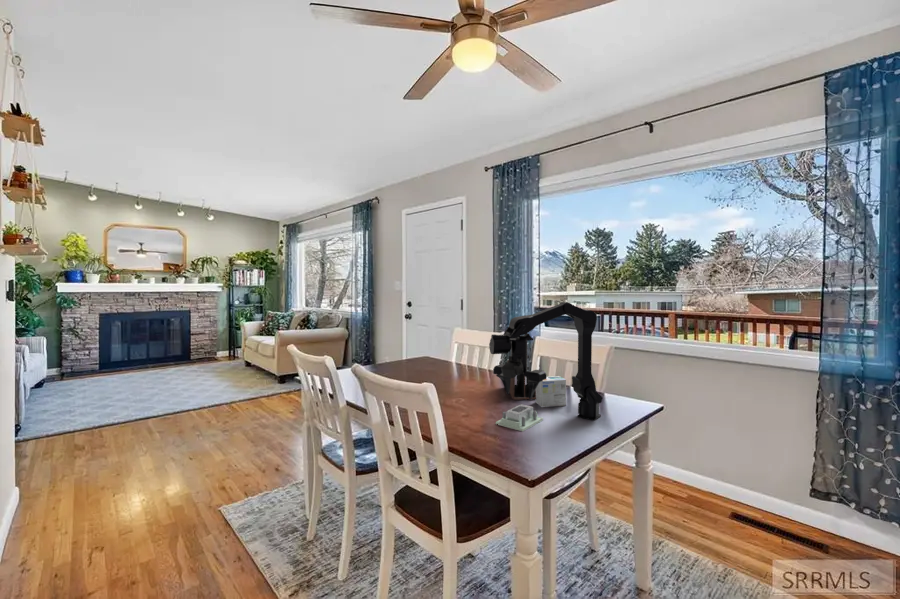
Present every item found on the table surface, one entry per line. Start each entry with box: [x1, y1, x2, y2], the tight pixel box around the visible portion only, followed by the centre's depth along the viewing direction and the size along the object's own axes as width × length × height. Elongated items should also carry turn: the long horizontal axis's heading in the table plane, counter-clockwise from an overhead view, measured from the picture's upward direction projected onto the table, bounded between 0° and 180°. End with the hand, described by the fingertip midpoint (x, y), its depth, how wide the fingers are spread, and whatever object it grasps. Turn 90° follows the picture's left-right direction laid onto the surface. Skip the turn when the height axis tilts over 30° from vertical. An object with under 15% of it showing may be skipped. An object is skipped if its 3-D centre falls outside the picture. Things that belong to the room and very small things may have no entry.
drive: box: [505, 403, 534, 425], centre depth 150 cm, size 5×10×4 cm, turn 140°
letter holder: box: [509, 375, 536, 401], centre depth 186 cm, size 10×20×14 cm, turn 0°
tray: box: [495, 405, 544, 432], centre depth 150 cm, size 11×14×4 cm
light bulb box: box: [535, 375, 567, 408], centre depth 170 cm, size 11×7×11 cm, turn 100°
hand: (518, 396), depth 149 cm, fingers open, 9 cm apart
